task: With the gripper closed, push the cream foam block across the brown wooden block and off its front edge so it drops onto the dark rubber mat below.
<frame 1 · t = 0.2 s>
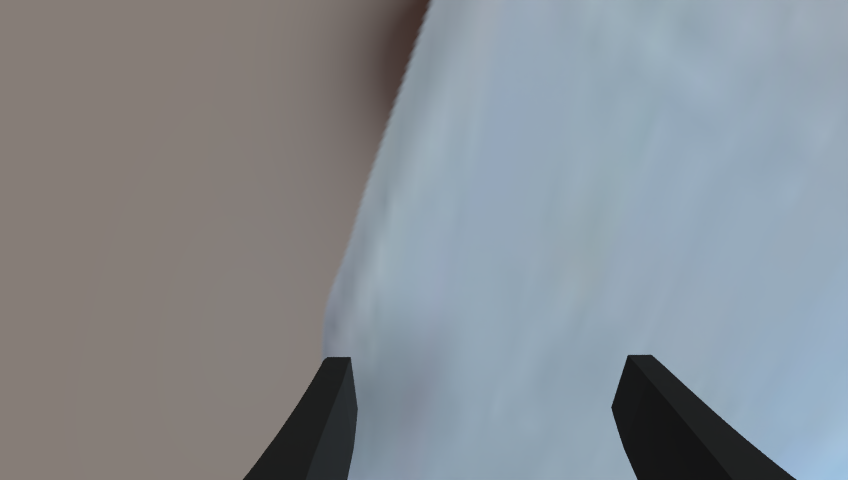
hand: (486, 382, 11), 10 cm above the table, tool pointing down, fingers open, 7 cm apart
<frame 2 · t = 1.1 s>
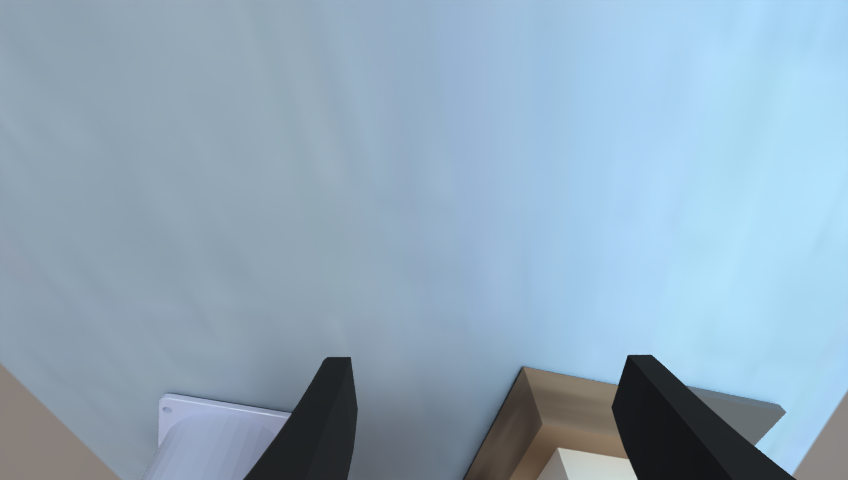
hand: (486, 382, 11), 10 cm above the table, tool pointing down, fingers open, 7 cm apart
mat: (654, 476, 31), on the table
brown wooden block: (530, 476, 30), on the table
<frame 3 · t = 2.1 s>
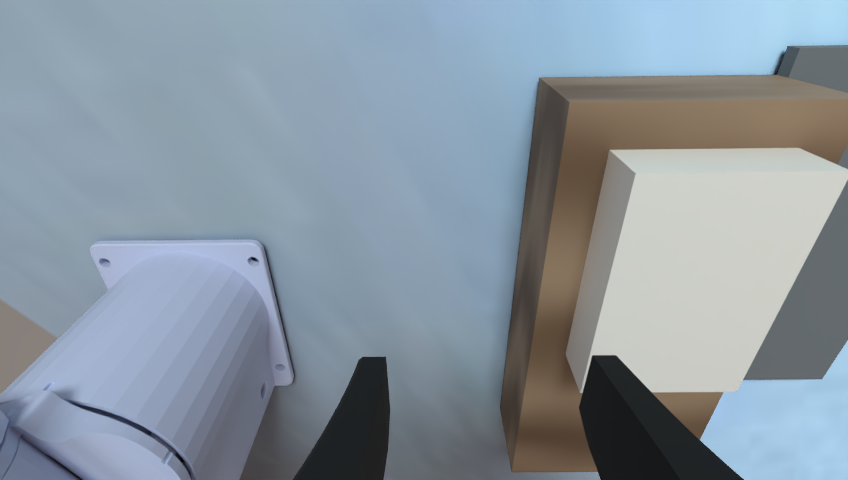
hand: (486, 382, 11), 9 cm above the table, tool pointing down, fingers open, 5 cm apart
mat: (803, 243, 20), on the table
brown wooden block: (606, 279, 21), on the table
cream foam block: (678, 282, 15), point 5 cm above the table, touching brown wooden block
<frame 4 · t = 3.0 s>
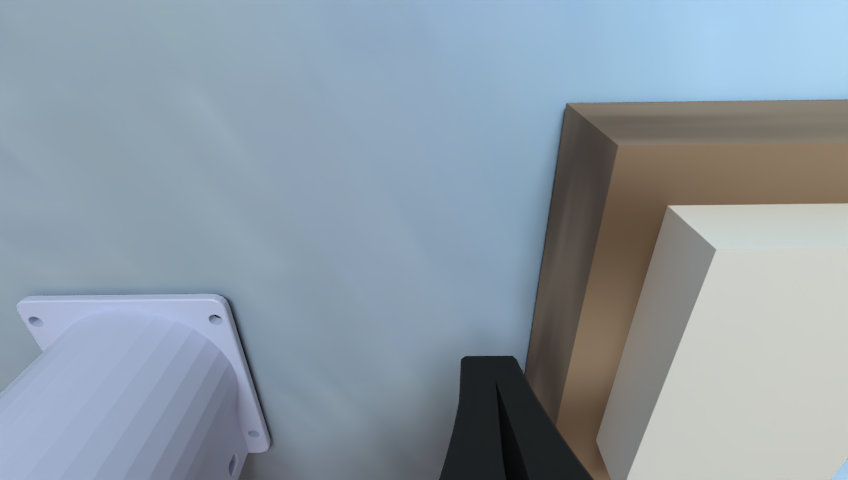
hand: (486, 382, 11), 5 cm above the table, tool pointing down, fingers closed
brown wooden block: (639, 336, 18), on the table
cream foam block: (750, 369, 12), point 5 cm above the table, touching brown wooden block
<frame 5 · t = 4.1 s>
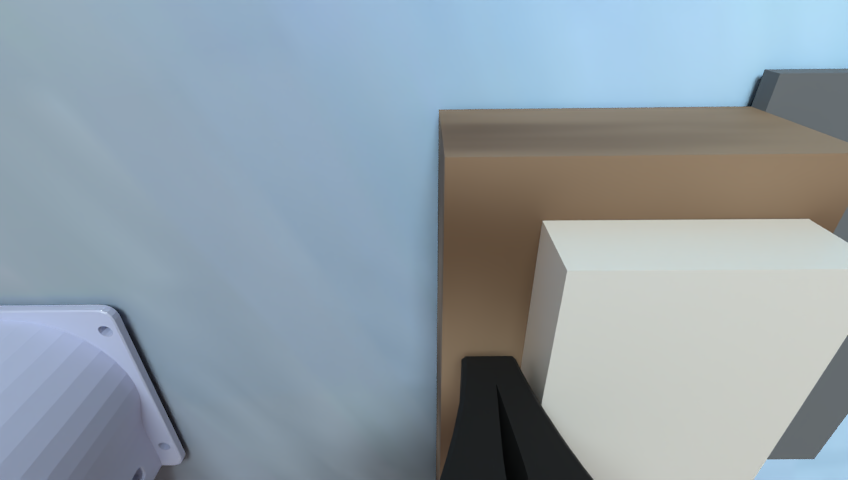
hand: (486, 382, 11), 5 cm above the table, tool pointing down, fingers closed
mat: (789, 308, 16), on the table
brown wooden block: (549, 349, 17), on the table
cream foam block: (644, 391, 11), point 5 cm above the table
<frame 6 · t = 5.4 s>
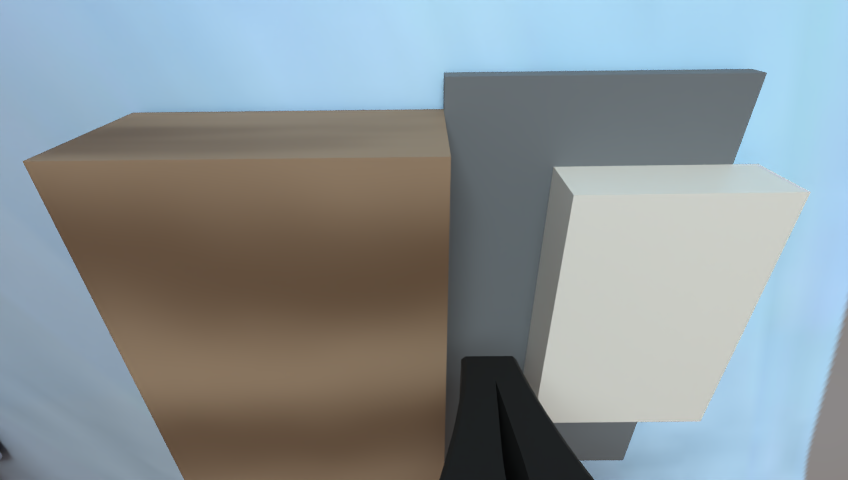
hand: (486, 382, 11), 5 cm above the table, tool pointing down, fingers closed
mat: (553, 310, 16), on the table
brown wooden block: (328, 350, 17), on the table
cream foam block: (634, 306, 14), point 2 cm above the table, tilted 180°, touching mat
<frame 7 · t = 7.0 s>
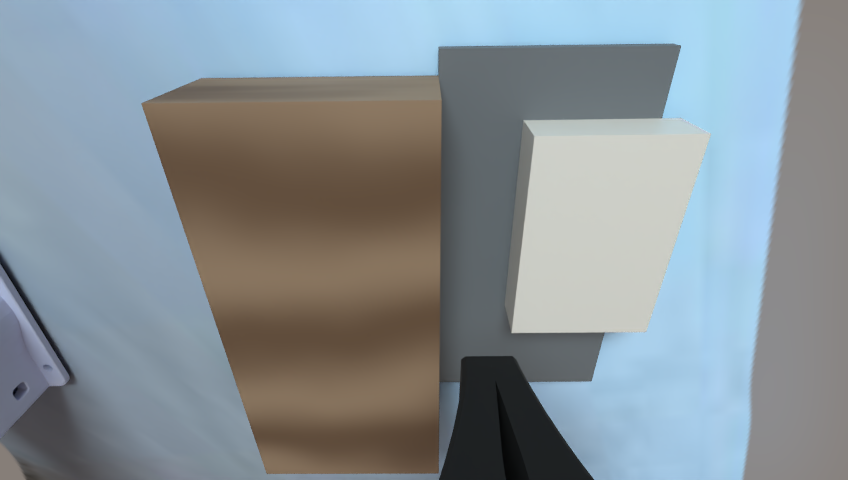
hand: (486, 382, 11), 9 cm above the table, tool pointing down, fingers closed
mat: (529, 244, 20), on the table
brown wooden block: (345, 280, 21), on the table
cream foam block: (589, 234, 18), point 2 cm above the table, tilted 180°, touching mat
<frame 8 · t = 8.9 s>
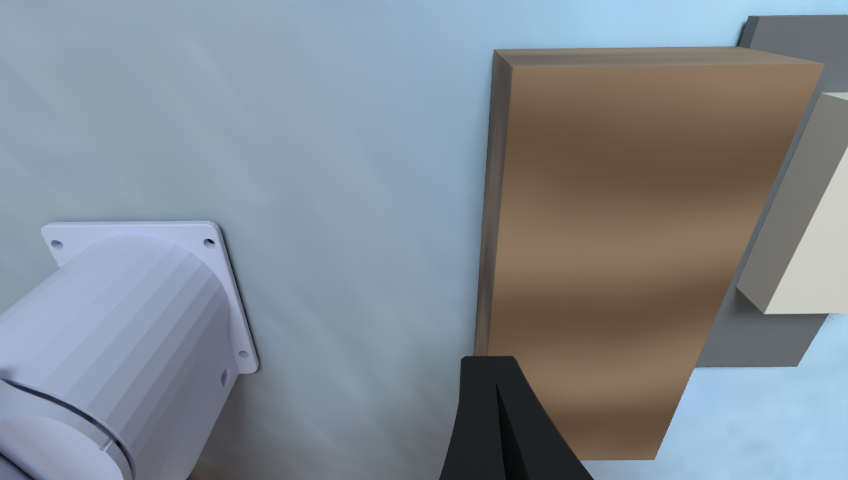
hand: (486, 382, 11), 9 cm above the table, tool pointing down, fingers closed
mat: (773, 224, 20), on the table
brown wooden block: (573, 262, 21), on the table
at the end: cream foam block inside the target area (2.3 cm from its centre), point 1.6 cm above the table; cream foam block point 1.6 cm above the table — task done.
